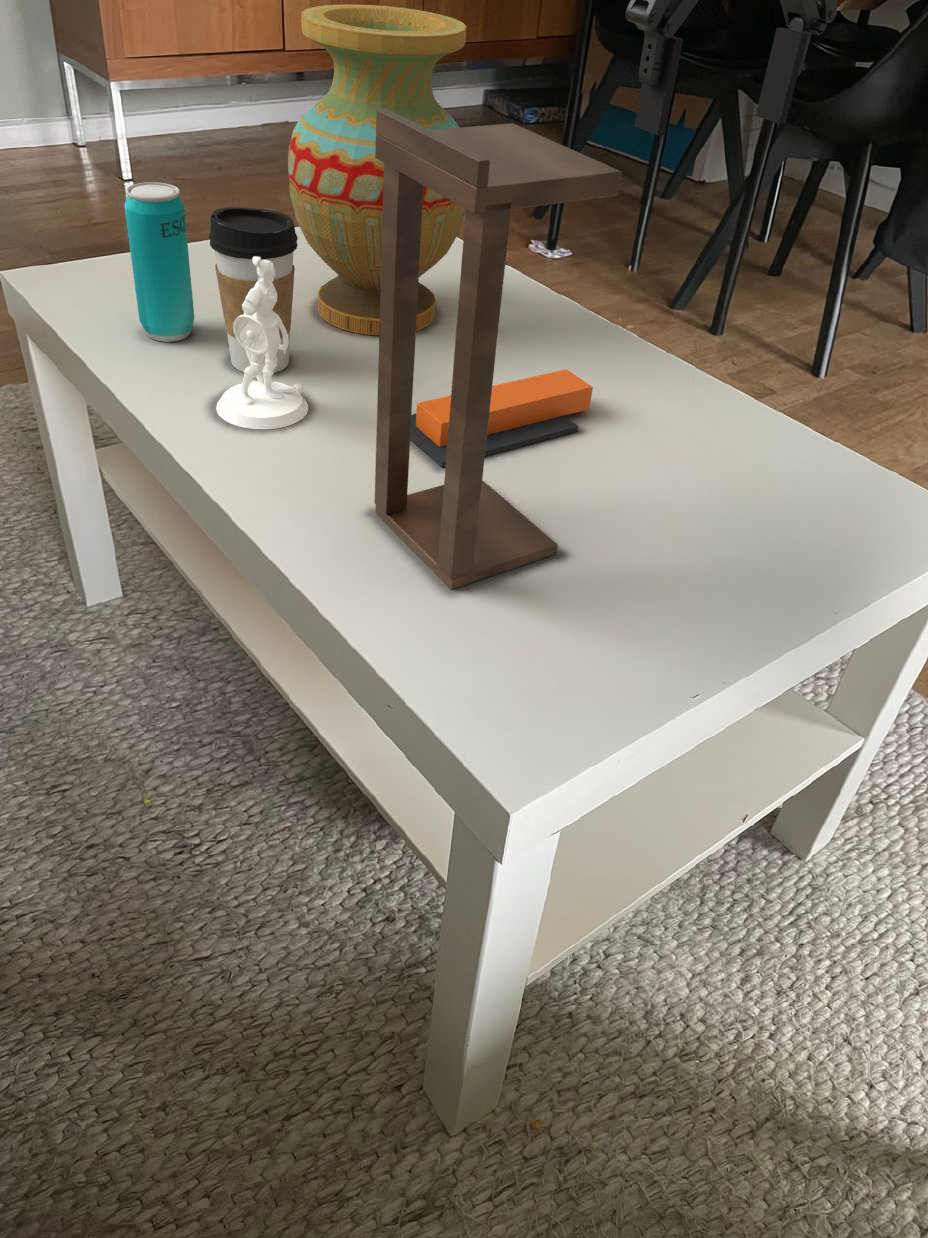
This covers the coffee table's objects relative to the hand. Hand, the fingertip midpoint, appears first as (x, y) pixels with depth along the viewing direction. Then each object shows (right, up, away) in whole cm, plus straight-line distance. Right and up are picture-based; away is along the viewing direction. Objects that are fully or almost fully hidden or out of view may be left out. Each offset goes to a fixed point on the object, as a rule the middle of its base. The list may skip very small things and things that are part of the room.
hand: (712, 125), depth 81 cm
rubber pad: (-18, -21, +17) cm, 33 cm away
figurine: (-40, -19, +17) cm, 47 cm away
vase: (-30, -4, +37) cm, 48 cm away
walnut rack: (-20, -33, +3) cm, 39 cm away
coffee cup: (-42, -13, +25) cm, 50 cm away
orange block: (-16, -20, +18) cm, 31 cm away
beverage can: (-52, -9, +28) cm, 60 cm away
